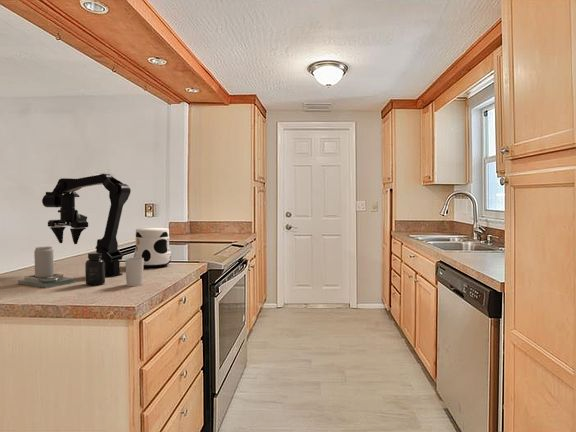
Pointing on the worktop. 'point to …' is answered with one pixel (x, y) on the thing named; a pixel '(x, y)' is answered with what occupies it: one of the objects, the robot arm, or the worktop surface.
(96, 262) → the supplement bottle
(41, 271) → the beverage can
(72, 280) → the grey flat piece
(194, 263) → the worktop surface
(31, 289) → the worktop surface
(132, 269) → the drinking glass
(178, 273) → the worktop surface
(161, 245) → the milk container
